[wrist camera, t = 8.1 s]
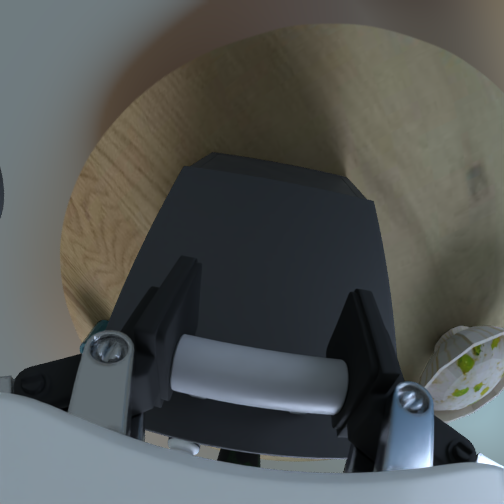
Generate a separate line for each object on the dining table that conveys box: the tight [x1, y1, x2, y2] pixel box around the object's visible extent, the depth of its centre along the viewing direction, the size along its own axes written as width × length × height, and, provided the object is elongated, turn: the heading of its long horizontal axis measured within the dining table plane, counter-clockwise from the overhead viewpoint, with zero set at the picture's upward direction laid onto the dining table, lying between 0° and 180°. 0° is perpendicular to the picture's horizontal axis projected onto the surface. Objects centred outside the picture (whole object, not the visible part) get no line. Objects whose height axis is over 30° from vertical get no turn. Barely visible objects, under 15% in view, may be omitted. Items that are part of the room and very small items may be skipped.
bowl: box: [419, 325, 504, 423], centre depth 33 cm, size 19×19×10 cm
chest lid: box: [106, 166, 397, 459], centre depth 14 cm, size 16×14×5 cm
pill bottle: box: [168, 437, 200, 455], centre depth 45 cm, size 6×6×10 cm
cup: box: [217, 448, 260, 468], centre depth 43 cm, size 8×8×12 cm
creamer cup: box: [80, 320, 109, 354], centre depth 39 cm, size 5×6×6 cm
